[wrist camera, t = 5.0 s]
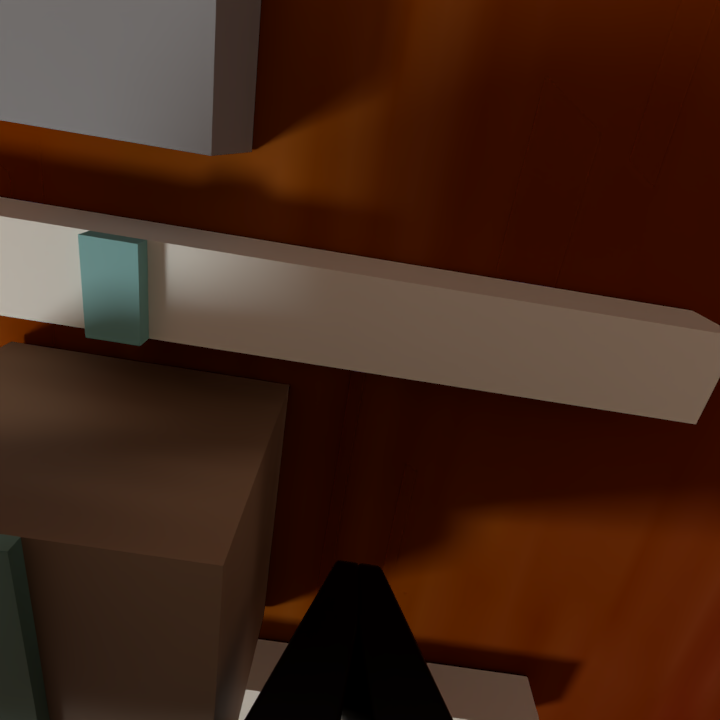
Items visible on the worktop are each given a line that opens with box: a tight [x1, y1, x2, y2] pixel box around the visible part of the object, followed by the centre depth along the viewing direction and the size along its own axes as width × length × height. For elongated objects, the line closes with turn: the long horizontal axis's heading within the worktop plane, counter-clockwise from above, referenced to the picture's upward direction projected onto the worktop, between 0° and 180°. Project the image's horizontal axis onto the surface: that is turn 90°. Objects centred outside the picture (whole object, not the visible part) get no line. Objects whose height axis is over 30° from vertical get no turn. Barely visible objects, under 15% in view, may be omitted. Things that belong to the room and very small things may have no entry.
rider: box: [0, 342, 289, 720], centre depth 8 cm, size 5×6×4 cm
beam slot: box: [0, 0, 720, 720], centre depth 9 cm, size 21×18×2 cm
